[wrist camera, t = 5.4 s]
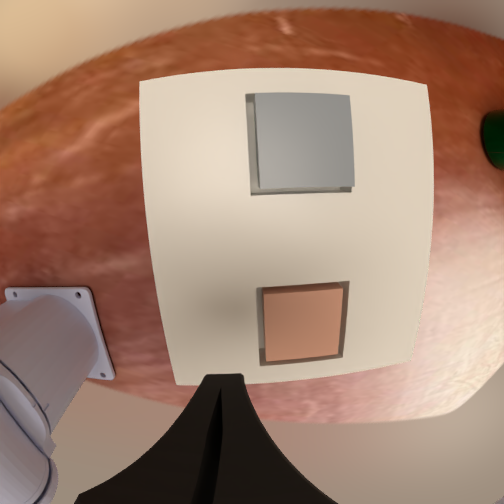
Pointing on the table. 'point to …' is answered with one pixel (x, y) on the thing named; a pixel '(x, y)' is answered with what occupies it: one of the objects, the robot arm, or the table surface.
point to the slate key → (303, 140)
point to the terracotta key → (301, 320)
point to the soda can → (495, 137)
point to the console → (284, 222)
